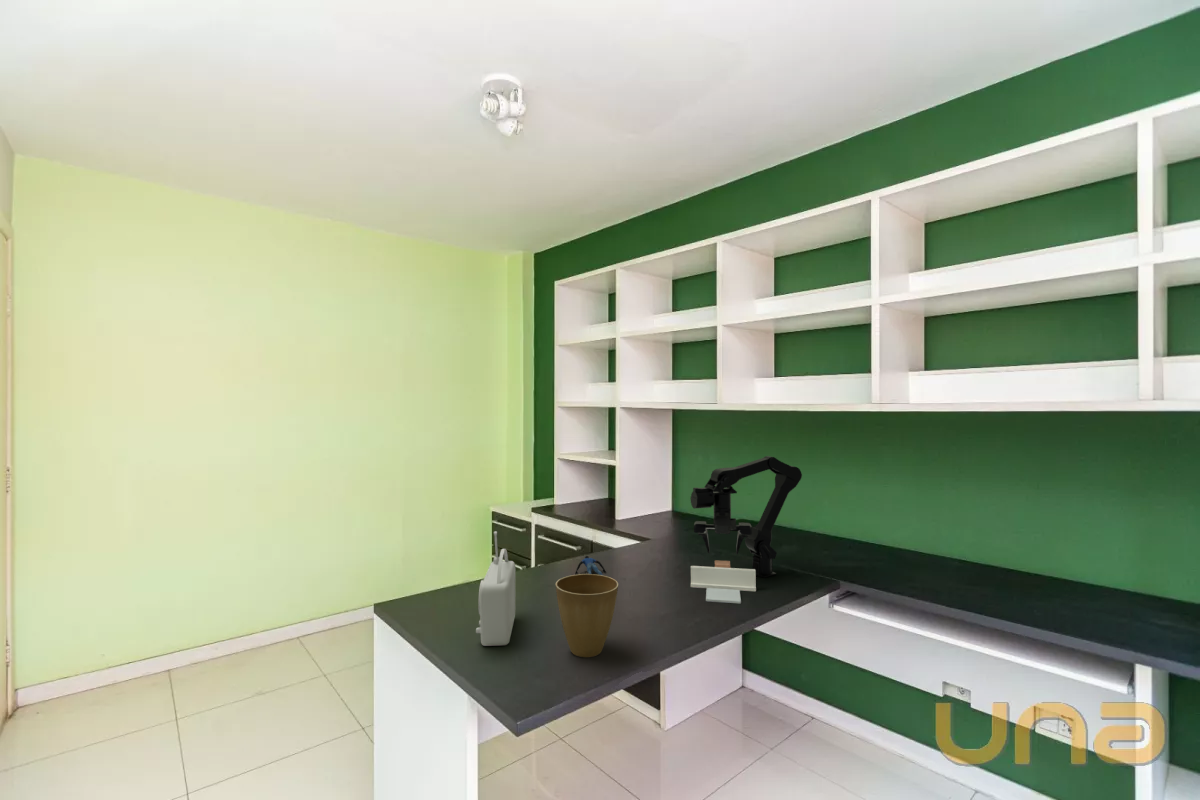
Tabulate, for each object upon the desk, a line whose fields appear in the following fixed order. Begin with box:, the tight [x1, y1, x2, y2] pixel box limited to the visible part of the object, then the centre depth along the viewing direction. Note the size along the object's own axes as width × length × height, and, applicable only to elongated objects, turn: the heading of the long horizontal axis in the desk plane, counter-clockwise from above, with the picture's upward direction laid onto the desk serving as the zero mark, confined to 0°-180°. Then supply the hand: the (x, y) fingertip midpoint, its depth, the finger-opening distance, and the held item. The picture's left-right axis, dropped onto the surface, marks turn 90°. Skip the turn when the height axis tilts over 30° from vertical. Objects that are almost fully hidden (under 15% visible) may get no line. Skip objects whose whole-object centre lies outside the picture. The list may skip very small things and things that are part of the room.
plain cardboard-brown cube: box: [714, 559, 731, 568], centre depth 183 cm, size 5×5×5 cm
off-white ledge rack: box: [690, 565, 757, 592], centre depth 173 cm, size 4×20×6 cm, turn 78°
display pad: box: [705, 588, 742, 604], centre depth 164 cm, size 10×10×1 cm
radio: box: [475, 530, 516, 647], centre depth 140 cm, size 22×8×25 cm, turn 4°
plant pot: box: [555, 573, 619, 658], centre depth 129 cm, size 15×15×16 cm
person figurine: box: [574, 555, 607, 576], centre depth 185 cm, size 11×4×18 cm
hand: (722, 553), depth 182 cm, fingers open, 9 cm apart
